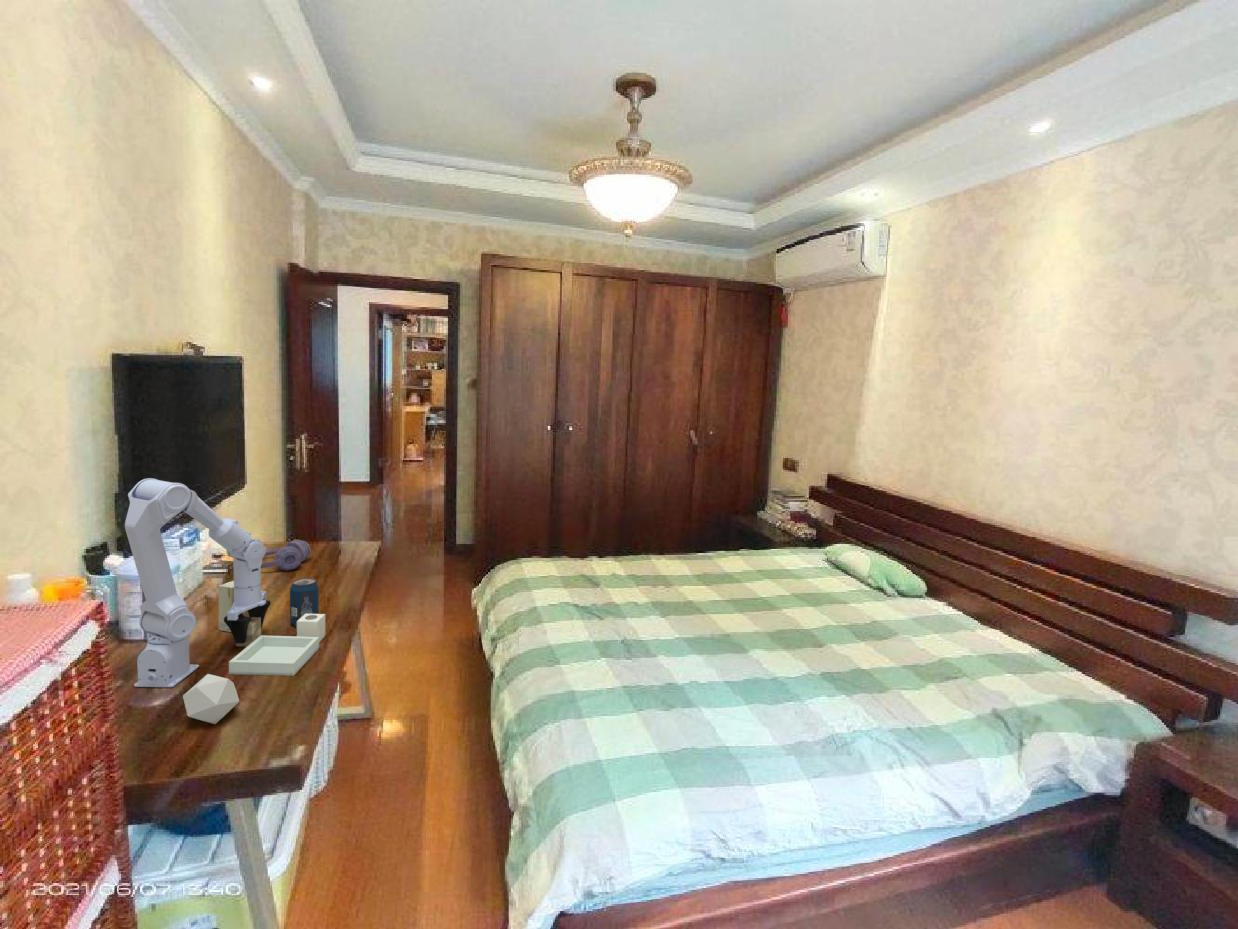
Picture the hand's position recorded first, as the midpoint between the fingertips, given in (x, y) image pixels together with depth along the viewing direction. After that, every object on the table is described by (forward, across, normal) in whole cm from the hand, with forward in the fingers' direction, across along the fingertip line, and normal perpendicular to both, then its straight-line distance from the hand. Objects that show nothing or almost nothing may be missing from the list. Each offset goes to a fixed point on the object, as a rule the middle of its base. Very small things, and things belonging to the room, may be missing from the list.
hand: (248, 636), depth 149 cm
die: (+2, -33, -10) cm, 35 cm away
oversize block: (+2, +3, -14) cm, 14 cm away
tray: (+2, -9, -11) cm, 14 cm away
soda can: (+2, +13, -8) cm, 15 cm away
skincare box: (+2, +9, +8) cm, 12 cm away
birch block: (+2, 0, 0) cm, 2 cm away
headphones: (+2, +60, +22) cm, 64 cm away
